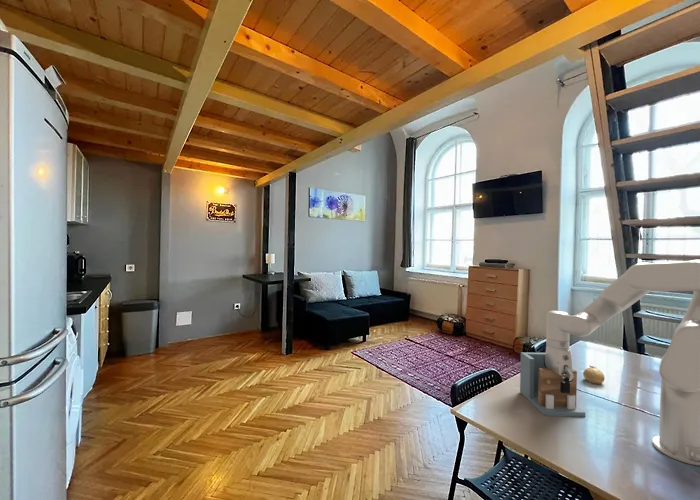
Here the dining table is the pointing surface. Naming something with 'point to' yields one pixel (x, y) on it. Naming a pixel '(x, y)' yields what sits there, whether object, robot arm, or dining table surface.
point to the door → (554, 387)
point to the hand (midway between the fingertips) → (556, 386)
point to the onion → (593, 375)
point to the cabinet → (530, 387)
